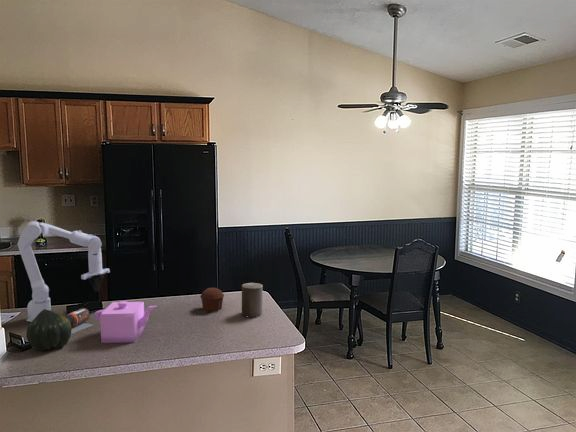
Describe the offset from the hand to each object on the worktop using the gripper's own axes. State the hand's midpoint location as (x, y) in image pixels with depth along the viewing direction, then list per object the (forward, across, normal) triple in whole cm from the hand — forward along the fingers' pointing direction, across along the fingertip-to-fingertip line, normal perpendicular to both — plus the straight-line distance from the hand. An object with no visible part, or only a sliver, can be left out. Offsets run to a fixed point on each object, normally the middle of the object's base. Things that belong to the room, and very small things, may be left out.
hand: (96, 291), depth 210 cm
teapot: (+11, -15, -33) cm, 37 cm away
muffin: (+11, +28, -45) cm, 54 cm away
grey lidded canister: (+11, +30, -66) cm, 73 cm away
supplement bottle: (+7, -11, -4) cm, 13 cm away
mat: (+10, -20, -4) cm, 23 cm away
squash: (+11, -36, -15) cm, 40 cm away
